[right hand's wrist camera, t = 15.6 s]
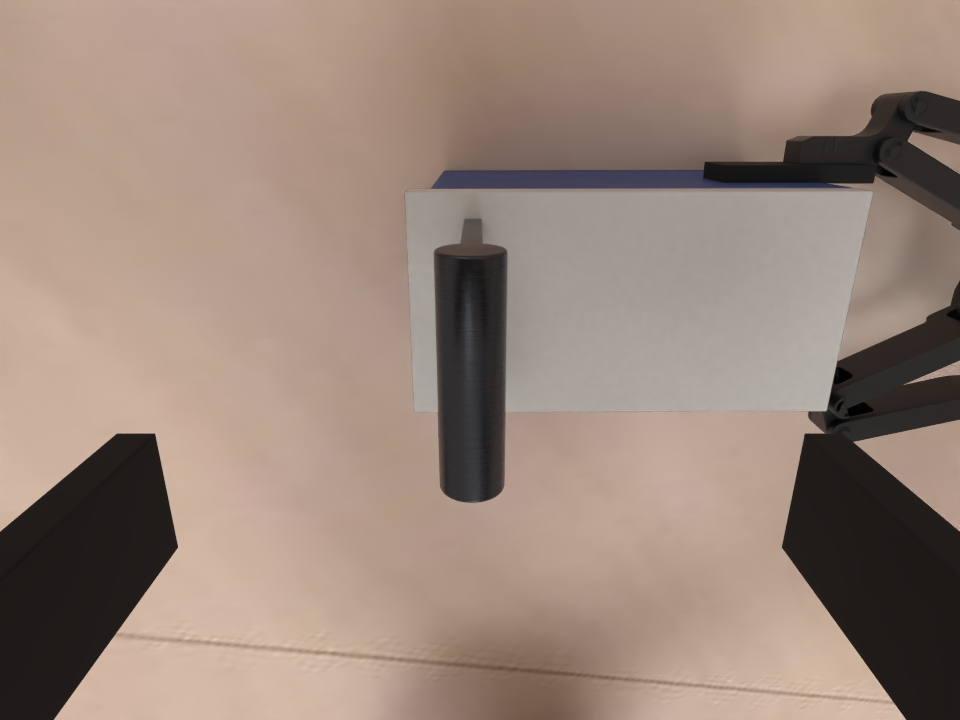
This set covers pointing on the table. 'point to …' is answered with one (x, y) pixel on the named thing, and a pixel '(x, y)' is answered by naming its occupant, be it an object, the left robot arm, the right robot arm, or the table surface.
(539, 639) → the table surface
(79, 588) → the right robot arm
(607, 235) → the lid
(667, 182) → the blue cabinet box
